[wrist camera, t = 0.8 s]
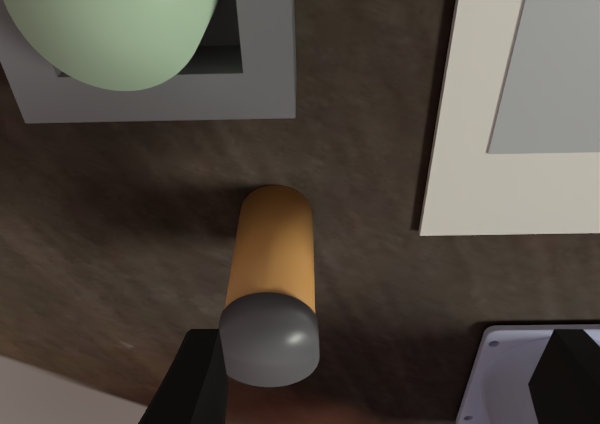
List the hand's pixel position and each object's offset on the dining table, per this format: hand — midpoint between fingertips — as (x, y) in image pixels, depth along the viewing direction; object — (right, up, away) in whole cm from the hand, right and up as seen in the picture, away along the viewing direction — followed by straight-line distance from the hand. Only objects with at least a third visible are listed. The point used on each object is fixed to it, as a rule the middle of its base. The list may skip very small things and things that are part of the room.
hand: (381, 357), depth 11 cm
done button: (-6, +10, +2) cm, 12 cm away
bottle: (-3, +3, +10) cm, 11 cm away
